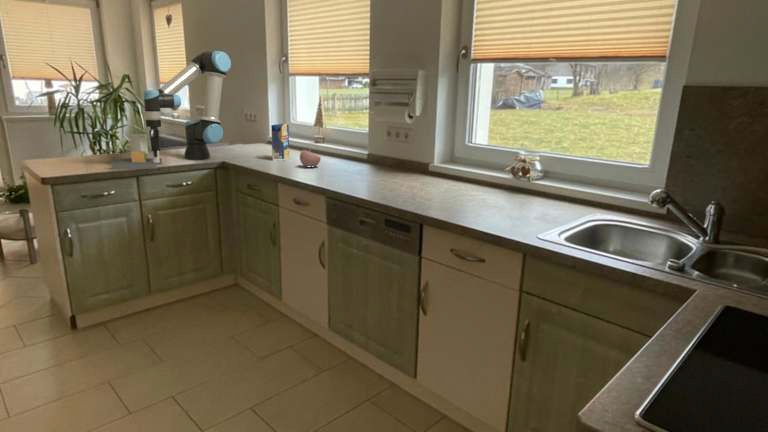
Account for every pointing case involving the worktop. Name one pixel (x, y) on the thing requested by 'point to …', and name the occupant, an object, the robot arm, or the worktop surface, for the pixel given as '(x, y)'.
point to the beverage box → (280, 141)
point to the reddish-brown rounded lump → (309, 158)
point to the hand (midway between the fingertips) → (156, 162)
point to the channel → (135, 164)
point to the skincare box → (139, 143)
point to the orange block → (138, 156)
